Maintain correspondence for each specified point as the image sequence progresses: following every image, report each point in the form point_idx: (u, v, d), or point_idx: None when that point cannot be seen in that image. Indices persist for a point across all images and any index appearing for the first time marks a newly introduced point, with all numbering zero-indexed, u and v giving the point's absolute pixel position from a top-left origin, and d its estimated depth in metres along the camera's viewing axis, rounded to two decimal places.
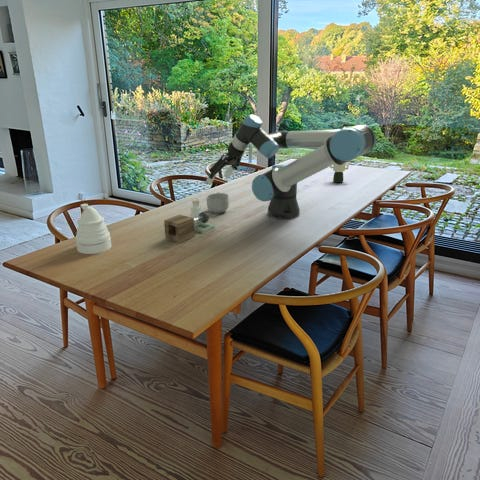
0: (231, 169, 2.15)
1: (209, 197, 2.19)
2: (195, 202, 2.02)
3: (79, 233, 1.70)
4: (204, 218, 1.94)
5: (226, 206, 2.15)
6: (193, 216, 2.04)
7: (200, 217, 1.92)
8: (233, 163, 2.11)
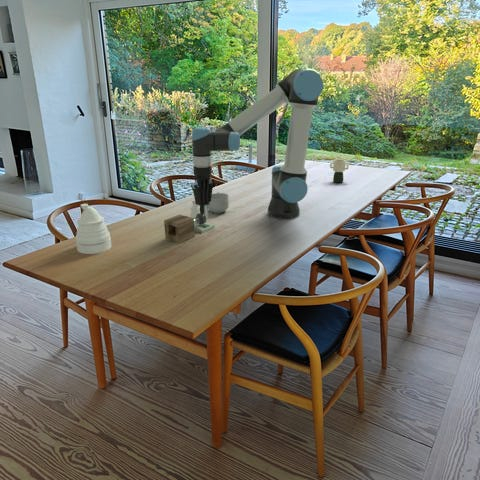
0: None
1: None
2: (195, 202, 2.02)
3: (79, 233, 1.70)
4: (201, 219, 1.92)
5: (226, 206, 2.15)
6: (193, 216, 2.04)
7: (197, 218, 1.91)
8: (205, 194, 1.92)
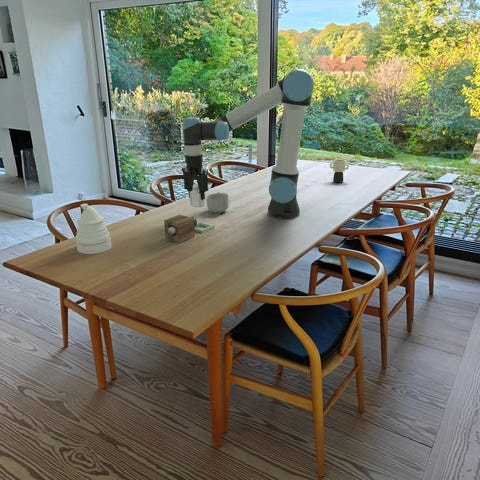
0: None
1: (209, 197, 2.19)
2: (195, 188, 2.00)
3: (79, 233, 1.70)
4: None
5: (226, 206, 2.15)
6: (194, 202, 2.02)
7: None
8: None
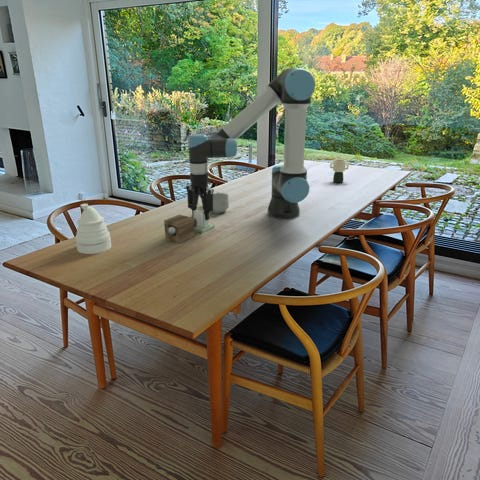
0: None
1: None
2: (200, 207, 1.91)
3: (79, 233, 1.70)
4: None
5: (226, 206, 2.15)
6: (197, 222, 1.93)
7: None
8: None
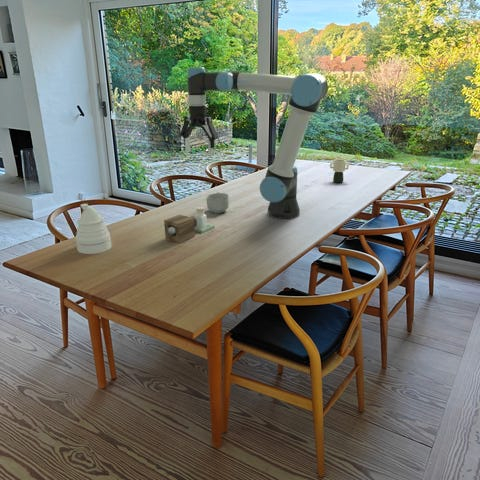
0: None
1: (209, 197, 2.19)
2: (199, 210, 1.91)
3: (79, 233, 1.70)
4: None
5: (226, 206, 2.15)
6: (197, 225, 1.93)
7: None
8: None
